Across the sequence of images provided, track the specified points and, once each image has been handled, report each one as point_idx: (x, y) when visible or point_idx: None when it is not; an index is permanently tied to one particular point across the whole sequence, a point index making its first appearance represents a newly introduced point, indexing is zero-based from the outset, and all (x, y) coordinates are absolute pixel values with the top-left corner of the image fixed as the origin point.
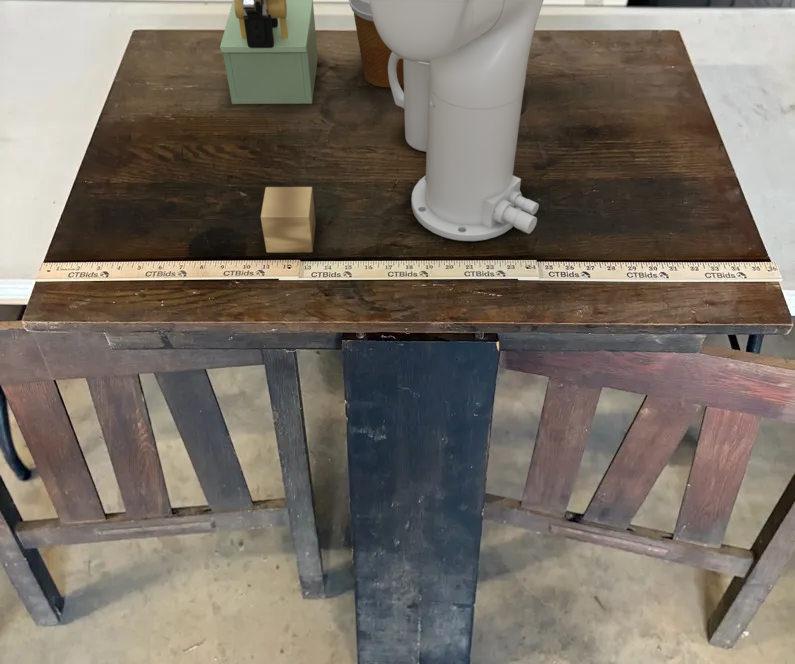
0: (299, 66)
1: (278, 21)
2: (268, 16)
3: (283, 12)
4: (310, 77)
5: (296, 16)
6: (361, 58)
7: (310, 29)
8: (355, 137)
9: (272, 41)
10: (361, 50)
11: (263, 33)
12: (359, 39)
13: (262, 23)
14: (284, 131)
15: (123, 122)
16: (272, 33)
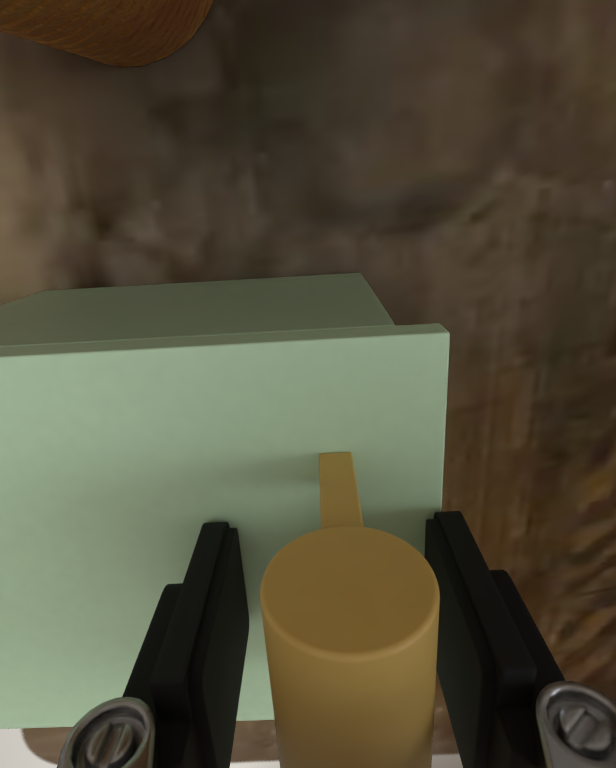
0: None
1: (158, 520)
2: (534, 680)
3: (435, 583)
4: (345, 289)
5: (80, 435)
6: (117, 50)
7: (132, 334)
8: (603, 63)
9: (466, 531)
10: (134, 19)
11: (530, 618)
12: (106, 5)
13: (561, 680)
14: (528, 345)
15: (446, 724)
16: (479, 561)
